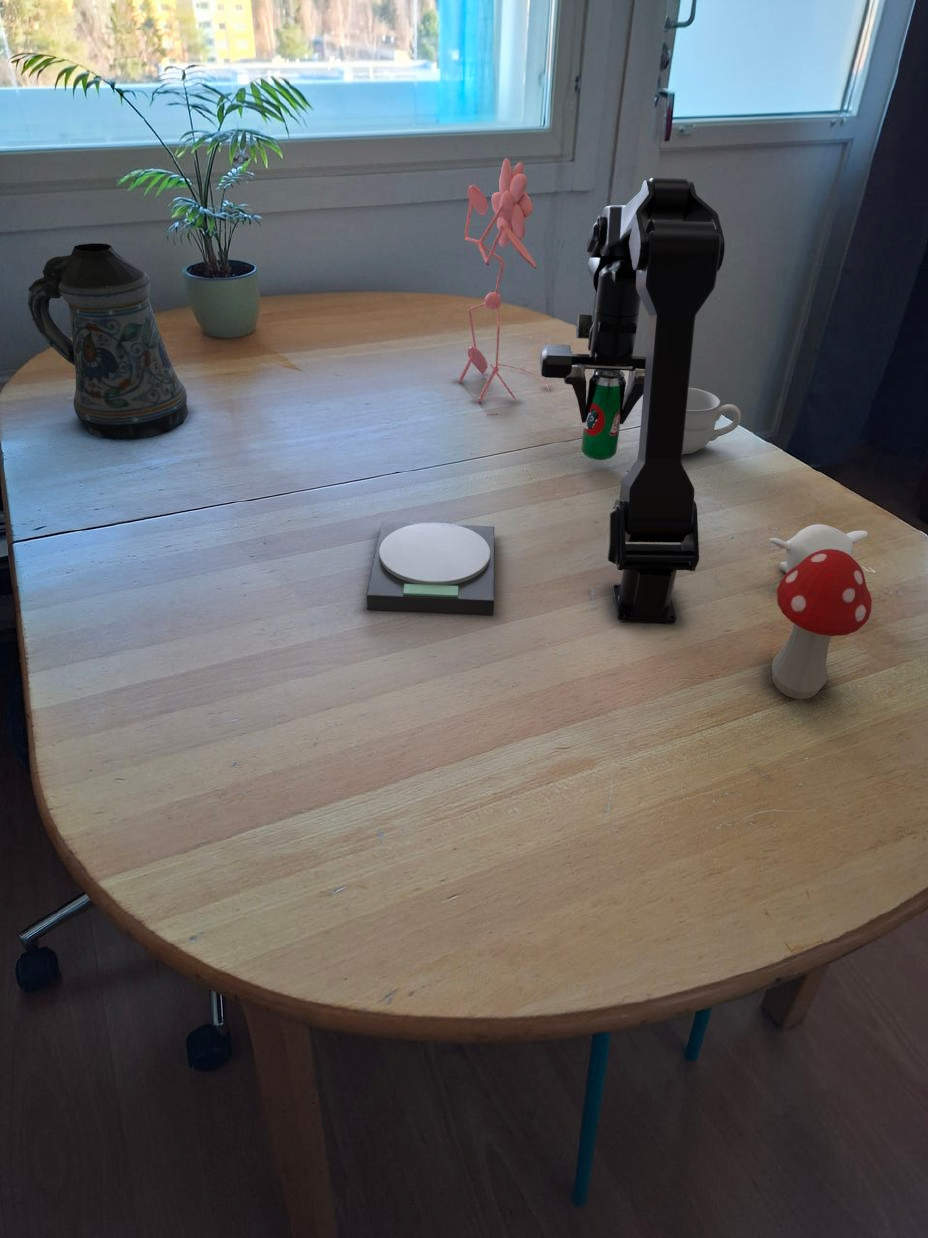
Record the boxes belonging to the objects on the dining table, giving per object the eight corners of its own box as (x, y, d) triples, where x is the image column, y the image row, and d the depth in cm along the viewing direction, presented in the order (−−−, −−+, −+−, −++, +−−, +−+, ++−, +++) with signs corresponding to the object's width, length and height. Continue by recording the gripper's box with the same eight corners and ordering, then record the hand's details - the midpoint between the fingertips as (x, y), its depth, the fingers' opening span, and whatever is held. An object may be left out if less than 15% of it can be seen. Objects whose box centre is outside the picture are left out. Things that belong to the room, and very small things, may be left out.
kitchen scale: (493, 615, 97) (494, 596, 95) (367, 609, 97) (366, 590, 95) (493, 539, 109) (494, 521, 108) (382, 535, 110) (381, 517, 108)
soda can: (614, 463, 124) (626, 381, 117) (579, 459, 125) (588, 377, 118) (616, 448, 128) (628, 368, 121) (582, 444, 129) (591, 364, 122)
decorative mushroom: (758, 642, 94) (794, 521, 85) (841, 662, 92) (887, 540, 83) (747, 698, 87) (785, 572, 78) (838, 722, 84) (888, 595, 75)
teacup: (629, 451, 131) (637, 400, 126) (651, 425, 139) (660, 376, 134) (720, 473, 126) (732, 421, 121) (738, 445, 134) (750, 395, 129)
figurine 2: (742, 587, 106) (788, 610, 96) (746, 519, 103) (793, 536, 94) (831, 579, 108) (884, 601, 98) (838, 512, 105) (893, 527, 96)
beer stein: (197, 432, 132) (168, 258, 117) (58, 450, 125) (10, 269, 111) (182, 391, 144) (155, 229, 129) (56, 406, 138) (12, 237, 123)
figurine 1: (492, 423, 138) (506, 178, 117) (438, 365, 157) (442, 147, 136) (579, 412, 142) (608, 175, 121) (516, 357, 162) (532, 144, 141)
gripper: (677, 295, 121) (659, 402, 130) (543, 289, 121) (534, 397, 130) (692, 320, 112) (671, 434, 121) (547, 314, 112) (537, 428, 121)
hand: (602, 422), depth 124 cm, fingers closed on soda can, 5 cm apart
